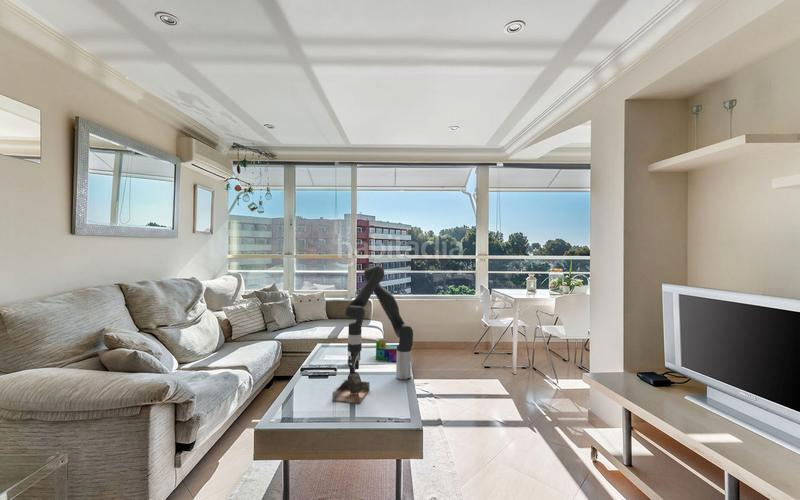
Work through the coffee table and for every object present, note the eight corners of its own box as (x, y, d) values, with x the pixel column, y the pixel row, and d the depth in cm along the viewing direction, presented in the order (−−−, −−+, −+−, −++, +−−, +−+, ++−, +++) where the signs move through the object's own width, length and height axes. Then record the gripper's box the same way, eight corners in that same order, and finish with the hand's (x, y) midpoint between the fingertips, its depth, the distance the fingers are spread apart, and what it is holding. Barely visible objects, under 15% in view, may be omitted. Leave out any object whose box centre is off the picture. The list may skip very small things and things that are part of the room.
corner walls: (369, 389, 218) (369, 381, 218) (359, 402, 200) (359, 394, 200) (344, 386, 221) (344, 379, 221) (332, 399, 203) (332, 391, 202)
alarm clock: (362, 397, 206) (362, 367, 206) (352, 399, 203) (352, 368, 203) (354, 390, 216) (354, 361, 215) (345, 392, 213) (345, 363, 213)
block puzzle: (375, 362, 272) (375, 342, 271) (377, 355, 289) (377, 336, 288) (410, 363, 271) (410, 343, 271) (410, 356, 288) (410, 337, 288)
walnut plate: (369, 390, 218) (369, 388, 218) (359, 403, 200) (359, 402, 200) (344, 388, 221) (344, 386, 221) (332, 401, 203) (332, 399, 203)
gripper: (352, 338, 217) (351, 367, 217) (343, 344, 203) (343, 375, 203) (365, 339, 216) (364, 368, 216) (357, 345, 202) (356, 376, 202)
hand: (354, 371), depth 210 cm, fingers open, 8 cm apart
